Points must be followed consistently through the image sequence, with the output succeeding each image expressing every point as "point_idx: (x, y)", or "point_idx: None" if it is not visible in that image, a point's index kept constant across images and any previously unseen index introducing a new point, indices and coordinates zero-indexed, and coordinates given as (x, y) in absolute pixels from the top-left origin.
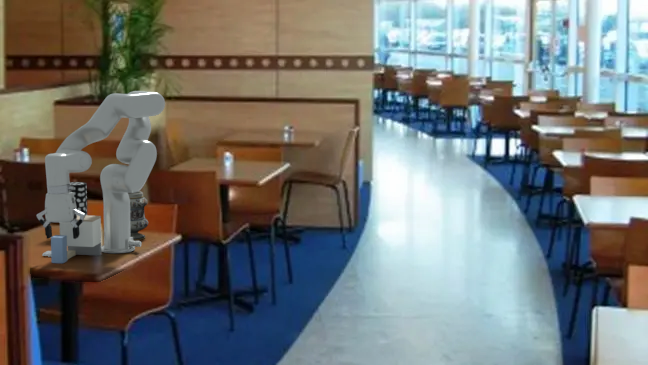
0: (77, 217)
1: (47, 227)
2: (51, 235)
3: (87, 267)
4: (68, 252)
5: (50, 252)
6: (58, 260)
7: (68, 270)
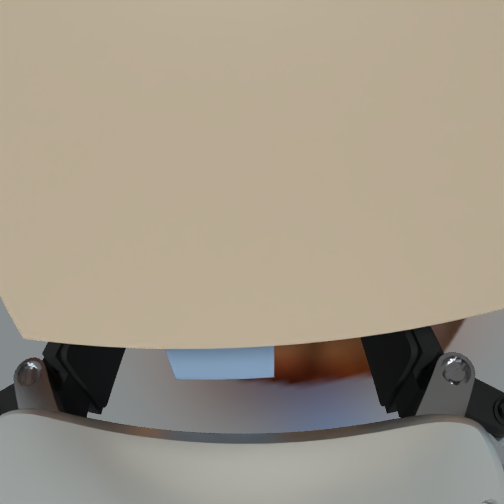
0: (447, 19)
1: (97, 409)
2: None
3: None
4: None
5: None
6: None
7: (334, 351)
